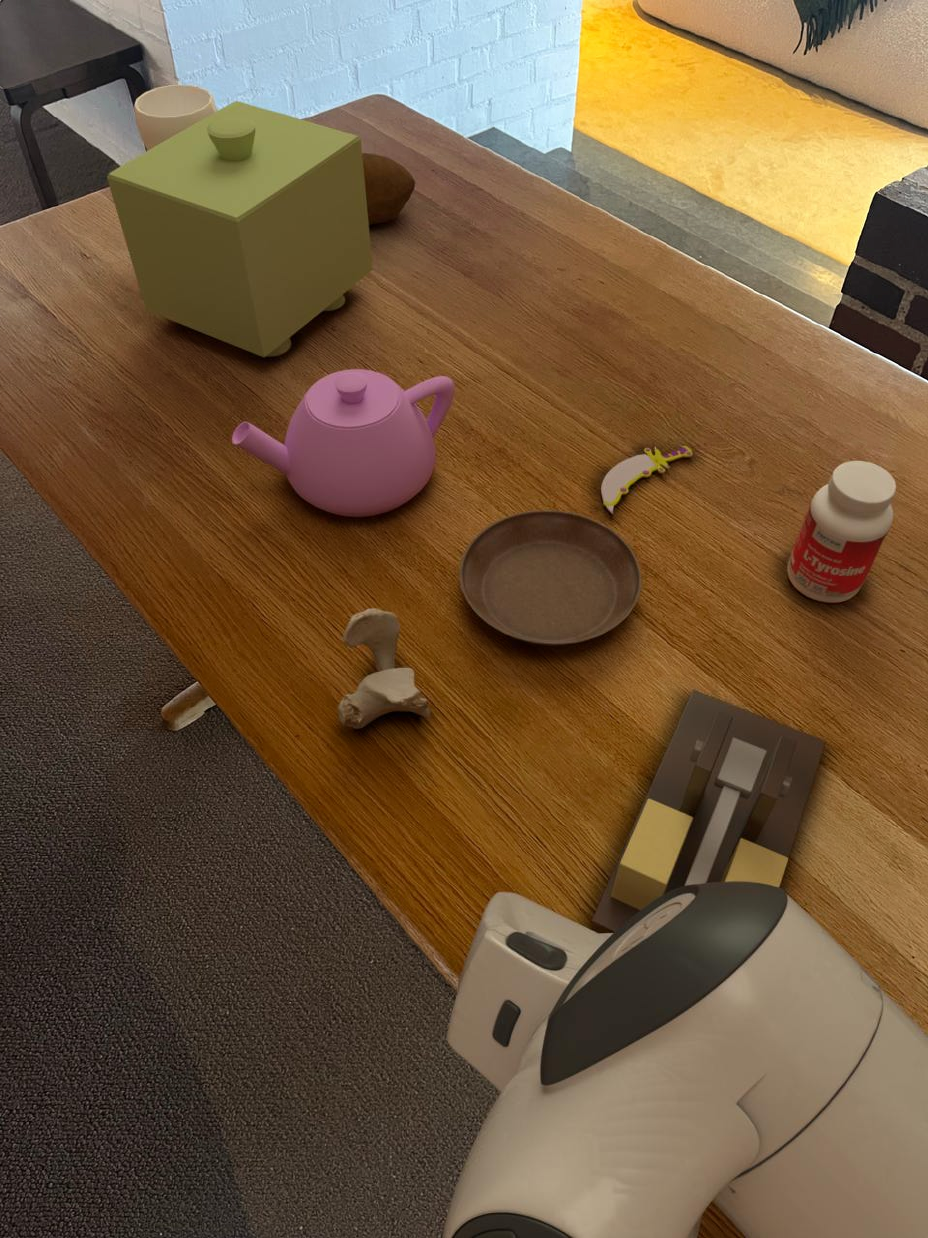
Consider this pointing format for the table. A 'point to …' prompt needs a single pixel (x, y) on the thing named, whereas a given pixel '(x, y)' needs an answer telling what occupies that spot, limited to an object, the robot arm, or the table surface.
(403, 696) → the bone
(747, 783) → the ball-knob lever switch
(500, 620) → the saucer
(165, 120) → the cup
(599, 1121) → the robot arm
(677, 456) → the decorative knife
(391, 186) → the potato
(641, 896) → the butter
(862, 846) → the table surface
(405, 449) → the teapot
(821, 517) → the pill bottle
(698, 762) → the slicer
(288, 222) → the container
